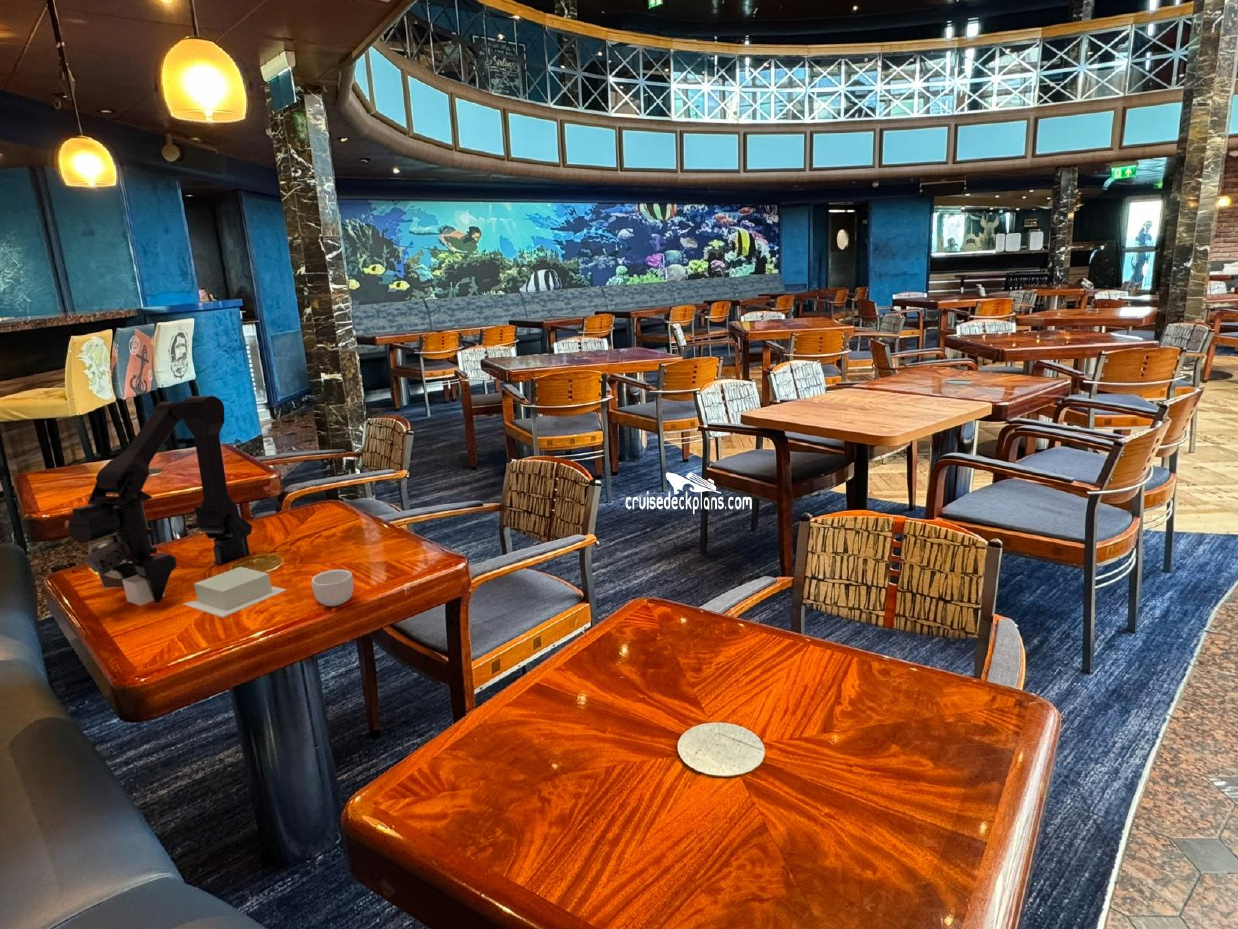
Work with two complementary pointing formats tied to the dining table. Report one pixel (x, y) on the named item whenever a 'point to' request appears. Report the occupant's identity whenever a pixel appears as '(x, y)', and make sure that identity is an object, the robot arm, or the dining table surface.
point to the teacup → (333, 587)
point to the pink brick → (137, 590)
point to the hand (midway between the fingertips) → (146, 597)
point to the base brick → (233, 588)
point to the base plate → (225, 613)
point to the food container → (111, 577)
